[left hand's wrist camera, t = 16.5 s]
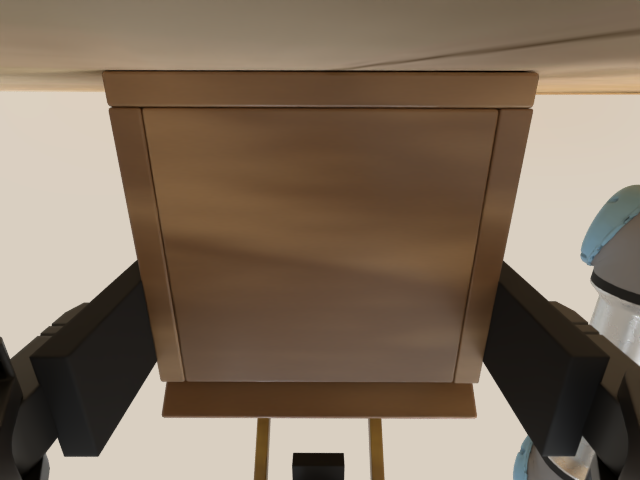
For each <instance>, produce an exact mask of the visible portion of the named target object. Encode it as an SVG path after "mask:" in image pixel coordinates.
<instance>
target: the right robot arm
mask: <svg viewBox="0 0 640 480" xmlns="http://www.w3.org/2000/svg"><path fill="white" fill-rule="evenodd" d="M581 252H582V253H581V259H582V260H583V261H584V262H585V263H587V265H590V266H591V265H592V266H594V269H593V272H592V276H591V280H590V282H591V284H592V285H593V287H594V288H595V289H596V290H597V292H598V293H599V298H598V301H597V303H596V306H595V309H594V312H593V315H592V318H591V321H590V324H589V325H592V326H593V327H594V328H595V329H596V330H597V331H599V334H600V335H603V336H605V337H606V338H607V339H608V340H609V341H611V342H612V343H613V344H614V345H615V346H616V347H618V348H619V349H620V350H621V351H622V352H624V353H625V354H626V355H627V356H628V357H629V358H631V359H632V360H633V361H634V362H635V363H637V364H638V365H639V366H640V185H632V186H628V187H625V188H623V189H622V190H620V191H618V192H617V193H616V194H614V195H613V196H612V197H611V198H610V199H609V200H608V201H607V203H606V204H605V205H604V206H603V207H602V209H601V210H600V211H599V213H598V214H597V216H596V217H595V219H594V220H593V222H592V224H591V226H590V227H589V229H588V231H587V234H586V236H585V238H584V241H583V244H582V247H581ZM594 453H595V451H594V450H593V449H592V448H591V446H590V445H589V444H588V442H587V441H586V440H585V438H584V437H583V436H582V439H581V442H580V444H579V447H578V450H577V453H576V456H541V455H540V454H539V452H538V450H537V449H536V447H535V445H534V444H533V442H532V441H531V439H530V437H529V436H527V437H526V439H525V440H524V442H523V443H522V446H521V450H520V452H519V453H518V454H517V457H516V460H515V464H514V471H513V480H584V479H585V477H586V474H587V471H588V469H589V466H590V464H591V461H592V458H593V456H594ZM292 472H293V480H344V453H293V463H292Z"/></svg>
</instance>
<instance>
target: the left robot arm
mask: <svg viewBox="0 0 640 480" xmlns="http://www.w3.org/2000/svg"><path fill="white" fill-rule="evenodd" d="M156 362H157V357H156V352H155V347H154V342H153V337H152V332H151V327H150V321H149V316H148V311H147V306H146V301H145V296H144V291H143V286H142V281H141V275H140V270H139V265H138V260H137V261H135V262H134V263H133V264H132V265H131V266H130V267H129V268H128V269H127V270H125V271H124V272H123V273H122V274H121V275H120V276H119V277H118V278H117V279H115V280H114V281H113V282H112V283H111V284H110V285H109V286H108V287H107V288H105V289H104V290H103V291H102V292H101V293H100V294H99V295H98V296H96V297H95V298H94V299H93V300H92V301H91V302H90V303H82V304H81V305H79V306H77V307H75V308H73V309H71V310H69V311H67V312H65V313H64V314H63V315H62V316H61V317H59V318H58V319H57V320H56V321H55V322H54V323H52V326H49V327H48V328H47V329H45V330H44V331H43V332H42V333H41V335H40V336H37V337H36V338H35V339H34V340H32V341H31V342H30V343H29V344H28V345H27V346H25V347H24V348H23V349H22V350H21V351H19V352H18V353H17V354H16V355H15V356H14V357H12V358H11V359H10V358H9V355H8V353H7V350H6V348H5V345H4V342H3V339H2V338H1V337H0V480H48V477H49V470H50V467H49V462H48V458H47V456H46V452H47V450H48V449H49V448H50V446H51V445H52V444H53V443H54V441H55V440H56V439H57V437H58V440H59V443H60V446H61V449H62V451H63V454H64V456H65V457H76V456H77V457H98V456H99V454H100V453H101V451H102V450H103V448H104V446H105V445H106V443H107V441H108V440H109V438H110V437H111V435H112V433H113V432H114V430H115V428H116V427H117V425H118V424H119V422H120V420H121V419H122V417H123V416H124V414H125V412H126V411H127V409H128V407H129V406H130V404H131V402H132V401H133V399H134V398H135V396H136V394H137V393H138V391H139V389H140V388H141V386H142V385H143V383H144V381H145V380H146V378H147V376H148V375H149V373H150V372H151V370H152V368H153V367H154V365H155V363H156ZM483 362H484V364H485V366H486V367H487V369H488V371H489V372H490V374H491V375H492V377H493V379H494V380H495V382H496V384H497V385H498V387H499V388H500V390H501V392H502V393H503V395H504V397H505V398H506V400H507V401H508V403H509V405H510V406H511V408H512V410H513V411H514V413H515V414H516V416H517V418H518V419H519V421H520V423H521V424H522V426H523V428H524V429H525V431H526V432H527V434H528V436H529V437H530V439H531V441H532V442H533V444H534V445H535V447H536V449H537V450H538V452H539V454H540V455H541V456H576V453H577V450H578V447H579V444H580V442H581V439H582V436H583V437H584V438H585V440H586V441H587V442H588V444H589V445H590V446H591V448H592V449H593V450H594V451H595V453H594V456H593V458H592V461H591V464H590V466H589V469H588V471H587V474H586V477H585V479H584V480H640V366H639V365H638V364H637V363H635V362H634V361H633V360H632V359H631V358H629V357H628V356H627V355H626V354H625V353H624V352H622V351H621V350H620V349H619V348H618V347H616V346H615V345H614V344H613V343H612V342H611V341H609V340H608V339H607V338H606V337H605V336H603V335H600V334H599V331H597V330H596V329H595V328H594V327H593V326H592V325H588V322H587V321H586V320H584V319H583V318H582V317H581V316H580V315H579V314H577V313H576V312H575V311H573V310H571V309H569V308H568V307H566V306H564V305H562V304H560V303H558V302H556V301H548V300H547V299H545V298H544V297H543V296H542V295H541V294H540V293H539V292H538V291H536V290H535V289H534V288H533V287H532V286H531V285H530V284H529V283H528V282H526V281H525V280H524V279H523V278H522V277H521V276H520V275H519V274H517V273H516V272H515V271H514V270H513V269H512V268H511V267H510V266H509V265H507V264H506V263H505V262H504V261H503V263H502V268H501V273H500V278H499V281H498V287H497V292H496V297H495V302H494V307H493V312H492V317H491V322H490V327H489V332H488V337H487V342H486V347H485V352H484V357H483Z"/></svg>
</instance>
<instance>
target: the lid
mask: <svg viewBox="0 0 640 480" xmlns="http://www.w3.org/2000/svg"><path fill="white" fill-rule="evenodd" d="M162 417H164V418H258V420H257V437H256V453H255V471H254V480H268V460H269V440H270V419H271V418H368V425H369V450H370V475H371V480H384V462H383V443H382V424H381V418H406V419H407V418H410V419H411V418H412V419H475V418H476V417H477V413H476V406H475V399H474V392H473V384H472V383H454V381H453V382H451V383H450V382H188V381H186V379H185V381H183V382H167V383H166V390H165V396H164V403H163V410H162Z"/></svg>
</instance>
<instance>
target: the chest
mask: <svg viewBox="0 0 640 480" xmlns="http://www.w3.org/2000/svg"><path fill="white" fill-rule="evenodd" d="M102 77H103V82H104V88H105V93H106V98H107V103H108V105H109V106H111V108H109V115H110V120H111V125H112V131H113V136H114V141H115V146H116V151H117V156H118V162H119V167H120V172H121V177H122V182H123V187H124V193H125V198H126V203H127V208H128V213H129V218H130V224H131V229H132V234H133V239H134V244H135V249H136V255H137V260H138V265H139V270H140V275H141V281H142V286H143V291H144V296H145V301H146V306H147V311H148V316H149V321H150V327H151V332H152V337H153V342H154V347H155V352H156V357H157V363H158V368H159V374H160V379H161V381H163V382H183V381H185V379H186V381H188V382H450V383H451V382H453V381H454V383H478V382H479V377H480V371H481V367H482V362H483V357H484V352H485V347H486V342H487V337H488V332H489V327H490V322H491V317H492V312H493V307H494V302H495V297H496V292H497V287H498V281H499V278H500V273H501V268H502V263H503V257H504V253H505V248H506V243H507V238H508V233H509V228H510V223H511V218H512V213H513V208H514V203H515V198H516V193H517V188H518V183H519V178H520V173H521V168H522V163H523V158H524V153H525V148H526V143H527V138H528V133H529V128H530V123H531V118H532V114H533V109H528V108H531V107H532V106H533V104H534V99H535V94H536V89H537V84H538V79H539V74H538V73H536V72H319V71H104V72H103V73H102Z"/></svg>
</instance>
